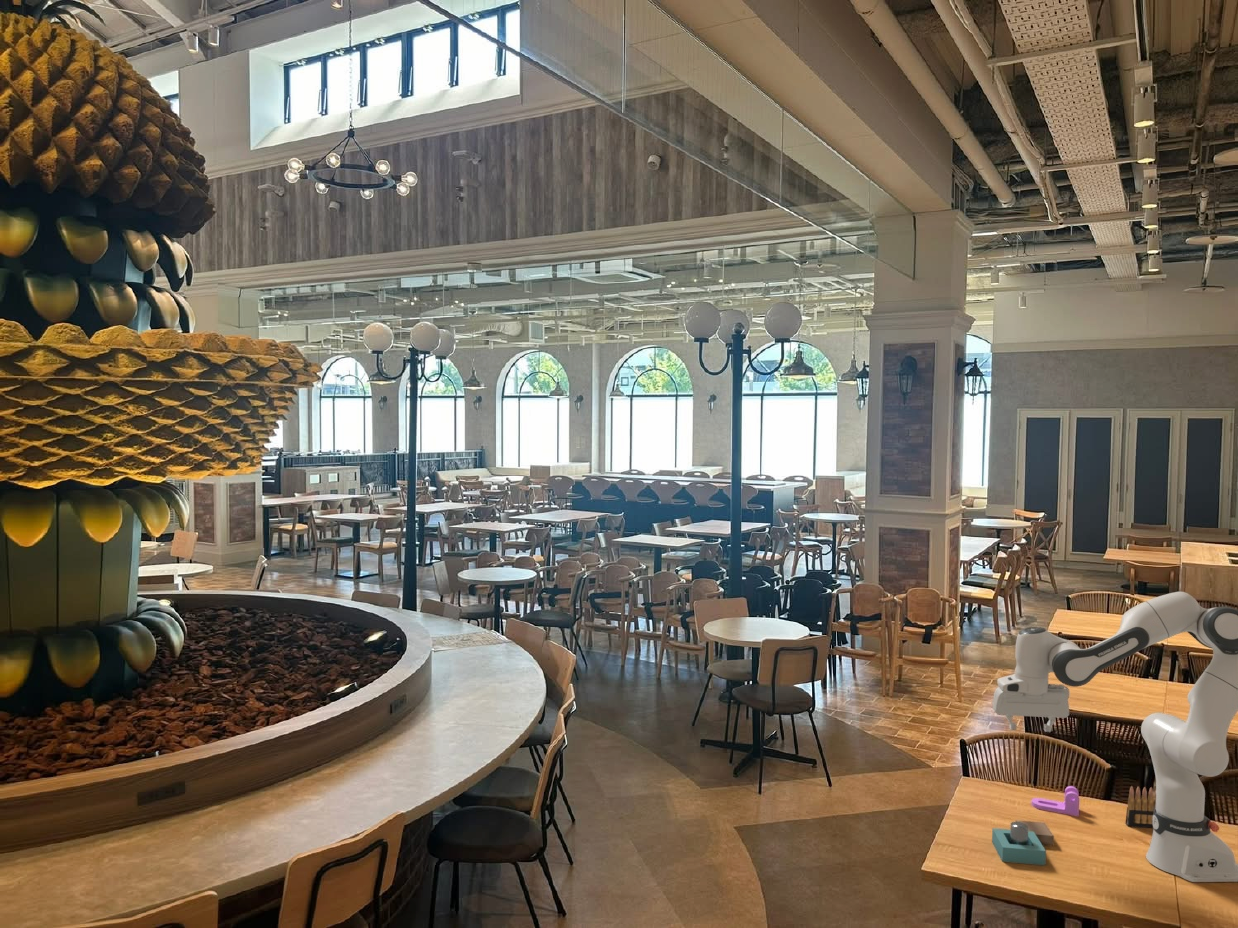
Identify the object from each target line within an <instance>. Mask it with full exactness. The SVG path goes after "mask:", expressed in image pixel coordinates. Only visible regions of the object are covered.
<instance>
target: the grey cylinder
mask: <svg viewBox="0 0 1238 928" xmlns="http://www.w3.org/2000/svg"><path fill="white" fill-rule="evenodd" d="M1010 830H1011V831H1010V844H1016V845H1028V826H1027V825H1026V824H1024V823H1021V822H1016V821H1012V822H1011V823H1010Z"/></svg>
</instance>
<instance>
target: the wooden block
mask: <svg viewBox="0 0 1238 928" xmlns="http://www.w3.org/2000/svg"><path fill="white" fill-rule="evenodd" d="M1015 822H1021V823H1024V824H1026V825H1027V826H1028V831H1033V832H1034V833H1035V834H1036V836H1037V838H1038V839H1039V841H1040V842H1041V844H1042V846H1048V847H1054V837H1055V836H1054V834H1053V832H1052V831H1051V830H1050V828H1049V826H1048V825H1047V823H1046V822H1041V821H1030V820H1027V821H1026V820H1015Z"/></svg>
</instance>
